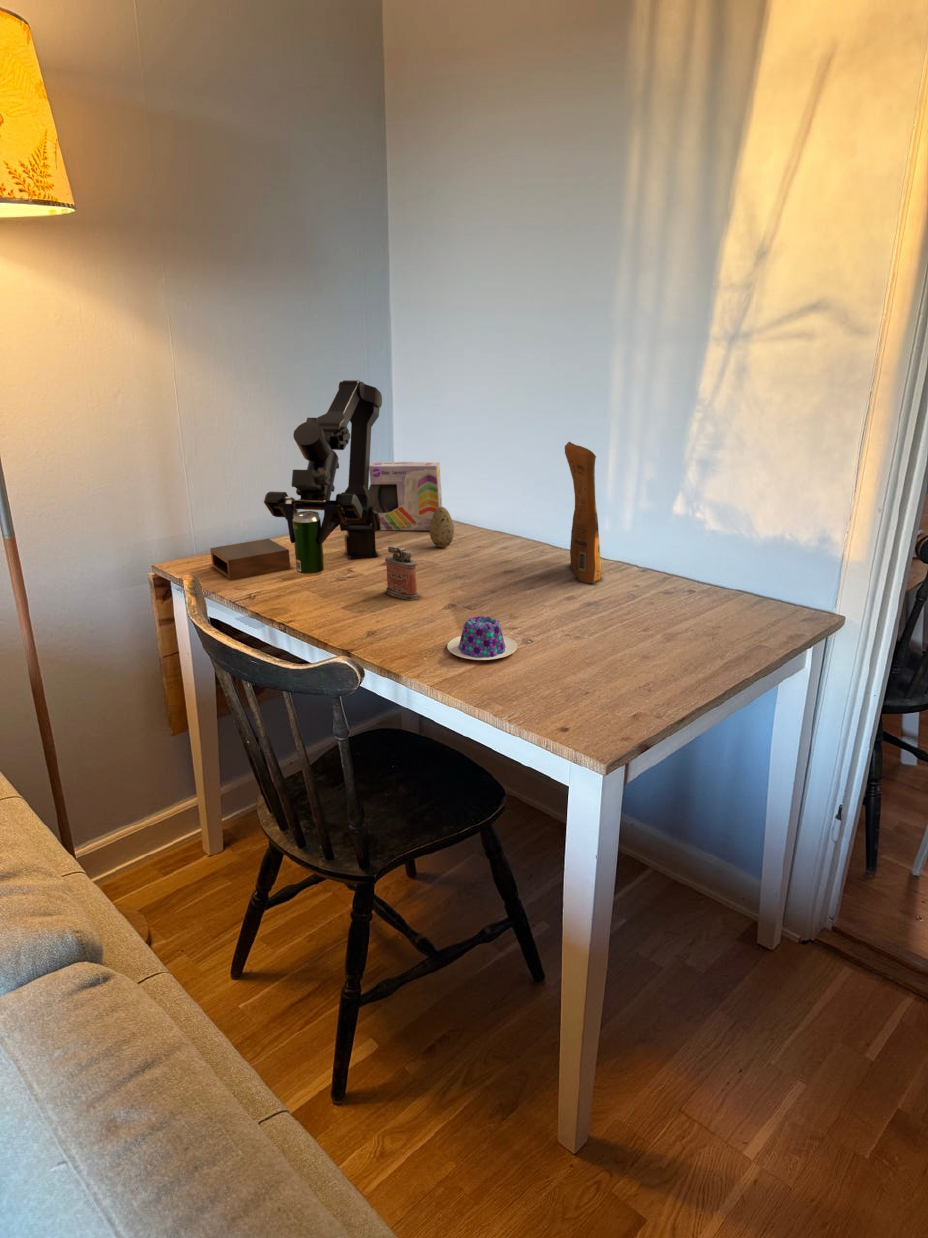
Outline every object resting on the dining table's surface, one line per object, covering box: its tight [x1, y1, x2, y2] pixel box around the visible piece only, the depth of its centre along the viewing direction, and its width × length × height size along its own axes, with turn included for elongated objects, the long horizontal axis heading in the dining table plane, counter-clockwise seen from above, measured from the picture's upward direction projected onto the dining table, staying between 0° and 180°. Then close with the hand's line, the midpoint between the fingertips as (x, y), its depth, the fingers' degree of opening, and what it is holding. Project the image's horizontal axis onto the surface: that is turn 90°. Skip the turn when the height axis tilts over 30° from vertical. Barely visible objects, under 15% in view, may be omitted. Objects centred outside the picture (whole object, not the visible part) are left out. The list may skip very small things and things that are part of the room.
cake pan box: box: [368, 461, 443, 531], centre depth 216 cm, size 19×5×18 cm, turn 81°
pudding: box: [446, 615, 518, 661], centre depth 141 cm, size 12×12×5 cm
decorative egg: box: [429, 506, 455, 548], centre depth 201 cm, size 6×6×10 cm
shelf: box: [210, 538, 291, 581], centre depth 187 cm, size 14×12×4 cm
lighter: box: [384, 545, 419, 601], centre depth 167 cm, size 8×3×10 cm, turn 47°
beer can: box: [292, 510, 325, 578], centre depth 162 cm, size 5×5×12 cm
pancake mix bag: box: [564, 441, 602, 585], centre depth 177 cm, size 7×19×28 cm, turn 3°
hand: (305, 542), depth 160 cm, fingers closed on beer can, 5 cm apart
